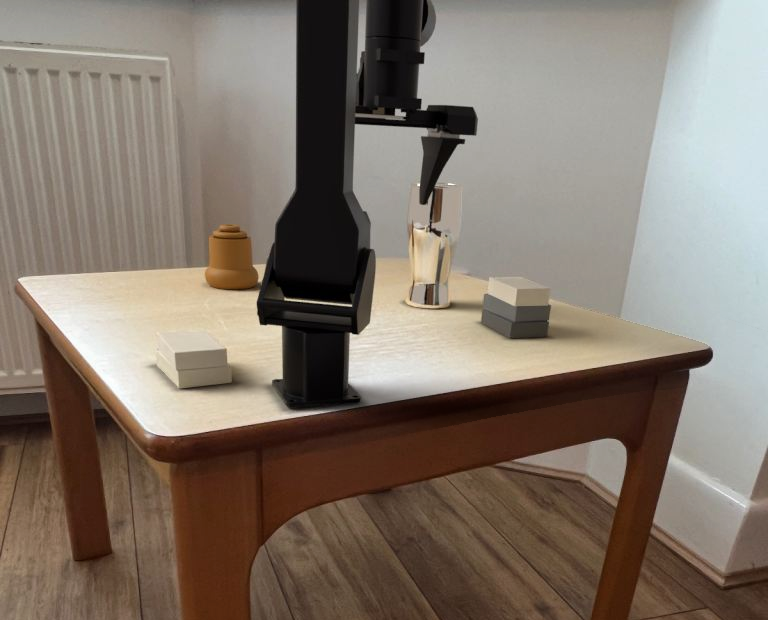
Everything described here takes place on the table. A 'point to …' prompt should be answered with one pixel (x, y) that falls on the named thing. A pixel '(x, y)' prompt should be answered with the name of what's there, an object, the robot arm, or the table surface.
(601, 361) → the table surface
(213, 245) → the ornamental finial
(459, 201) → the beer glass
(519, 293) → the off-white rectangular block
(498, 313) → the grey books
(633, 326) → the table surface
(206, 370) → the white books
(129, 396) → the table surface
